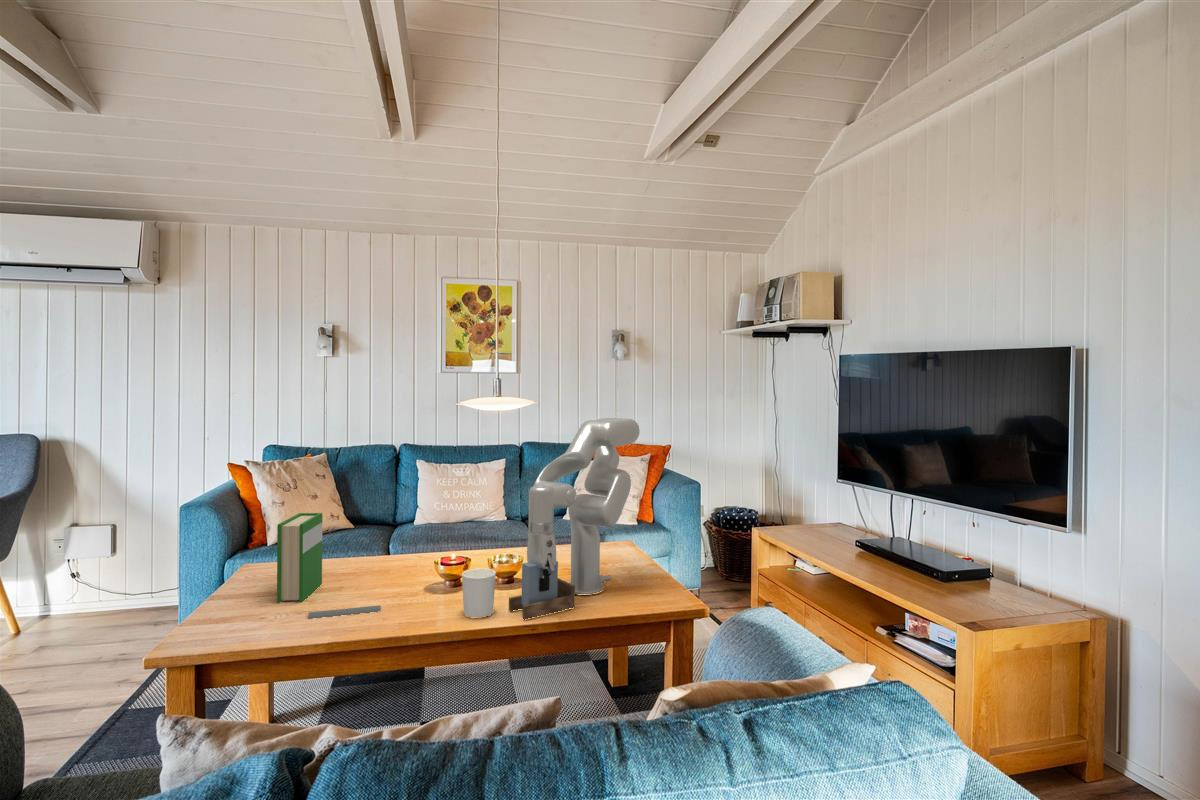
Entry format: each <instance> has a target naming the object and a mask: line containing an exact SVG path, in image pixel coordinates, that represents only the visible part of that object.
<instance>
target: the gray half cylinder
mask: <svg viewBox="0 0 1200 800" xmlns="http://www.w3.org/2000/svg"><path fill="white" fill-rule="evenodd" d="M381 607H382V606H381V604H380V605H369V606H361V607H350V608H339V609H330V610H329V609H328V610H319V611H318V610H317V611H309V612H308V613H307V618H308V620H314V619H313V618H317V619H323V618H322V617H327V618H333V616H337V617H342V616H341V615H347V616H352V615H351V614H356V615H361V614H360V613H366V614H371V613H370V612H376V613H379V612H378V611H380V612H381V609H382V608H381Z"/></svg>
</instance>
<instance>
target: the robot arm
mask: <svg viewBox="0 0 1200 800" xmlns="http://www.w3.org/2000/svg"><path fill="white" fill-rule="evenodd" d="M640 431H641V430H640V426H639V423H638V422H637V421H636V420H635V419H632V418H616V417H602V418H598V419H589V420H585V421H584V422H583V423H582V424H580V427H579V429H578V430H577V432H576V434H575V436H574V437H573V439H572V441H571V442H570V444H569V446H568V447H567V450H566V451H565V452H564V453H563V454H561V455H559V456H557V458H555V459H553V460H552V461H551V462H549V463H548V464H547V465H546V466H545V467H544V468H543V469H542V470H541V472H540V473H539V475H538V476H537V478H536V479H535V482H534V484H533V486H530V488H529V490H528V526H527V527H528V530H527V531H528V534H527V544H526V561H527V563H529V562H532V563H534V564H537V565H538V567H540V574H541V578H539V591H540V592H543V591H548V590H549V580H550V577H551V573H552V572H554V571H555V569H554V566H556V561H557V546H556V545H557V544H556V537H555V533H554V530H555V529H554V528H555V523H554V520H555V509H568V517H569V522H570V533H571V534H570V582H569V583H570V584H572V585H574V586H575V594H593V593H597V592H600V591H602V590H603V589H604V590H605V586H604V585H603V584H604V582H609V581H612V576H611V575H610V574H607V575H606V574H605V575H604V574H600V573H601V572H600V570H601V569H600V568H601V567H600V565H601V563H600V562H601V557H600V556H601V555H600V554H601V536H600V531H599V529H598V527H605V528H610V527H614V526H615V525H616V524H617V523H618V522H619V519H620V517H621V514H622V513H623V510H624V508H625V505H626V503H627V499H628V498H629V495H630V493H631V489H632V488H631V486H632V479H631V475H630V474H629V473H628V471H626V470H624V469H622V468H621V469H620V468H618V466H619V463H620V456H619V452H618V450H617V449H616V447H621V446H627V445H632V444H633V443H635V442H637V440H638V438H639V437H640ZM594 456H595V457H594ZM592 460H593V462H592V463H591V461H592ZM590 463H591V465H590ZM589 466H590V467H589ZM588 467H589V470H588V472H587V474H586V477H585V479H584V485H583V486H584V489H585V491H586V492H588V494H587V493H579V494H577V491H576V488H574V486H572V485H571V484H568V483H563V482H558V480H560V479H562V478H563V477H565V476H568V475H570V474H573V473H577V472H579V471H583V470H585V469H587V468H588ZM545 565H547V566H546V567H545ZM544 569H547V570H546V571H545V572H544Z"/></svg>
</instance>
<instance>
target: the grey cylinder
mask: <svg viewBox="0 0 1200 800" xmlns="http://www.w3.org/2000/svg"><path fill="white" fill-rule="evenodd" d="M496 574H497V573H496V570H494V569H492V568H487V567H486V568H483V567H480V568H478V567H476V568H471V569H467V570H464V571H463V572H462V573H461V577H462V578H461V580H462V601H463V603H462V604H463V615H464V616H465V615H466V616H468V617H484V616H488V615H490V614H492V615H493V613H494V603H495V588H496V587H495V586H496V577H497V575H496ZM466 616H465V617H466ZM490 616H491V615H490ZM468 617H467V618H468ZM488 617H489V616H488Z"/></svg>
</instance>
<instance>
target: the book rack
mask: <svg viewBox="0 0 1200 800" xmlns="http://www.w3.org/2000/svg"><path fill="white" fill-rule="evenodd" d="M570 583H571V582H568V581H565V580H563V579H561V578H559V577H558V586H557V598H555V599H551V600H546V601H542V602H537V603H533V604H528V605H522V604H521V601H522V594H521V595H516V596H512V597H508V611H509V610H510V611H513V610H518V609H523V610H522V616H521V617H522V618H523V619H524V620H525V619H528V618H532V617H537V616H541V615H546V614H549V613H554V612H558V611H562V610H565V609H569V608H573V607H574V608H575V597H576V595H575V586H574V585H572V584H570ZM524 620H523V621H524Z"/></svg>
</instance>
